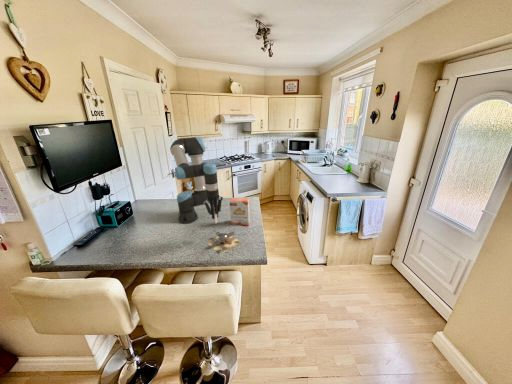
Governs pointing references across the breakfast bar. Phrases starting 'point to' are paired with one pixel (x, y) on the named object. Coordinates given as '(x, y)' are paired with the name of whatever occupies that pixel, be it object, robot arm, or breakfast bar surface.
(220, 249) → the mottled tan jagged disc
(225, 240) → the capstan
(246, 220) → the cracker box
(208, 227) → the breakfast bar surface
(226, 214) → the breakfast bar surface
